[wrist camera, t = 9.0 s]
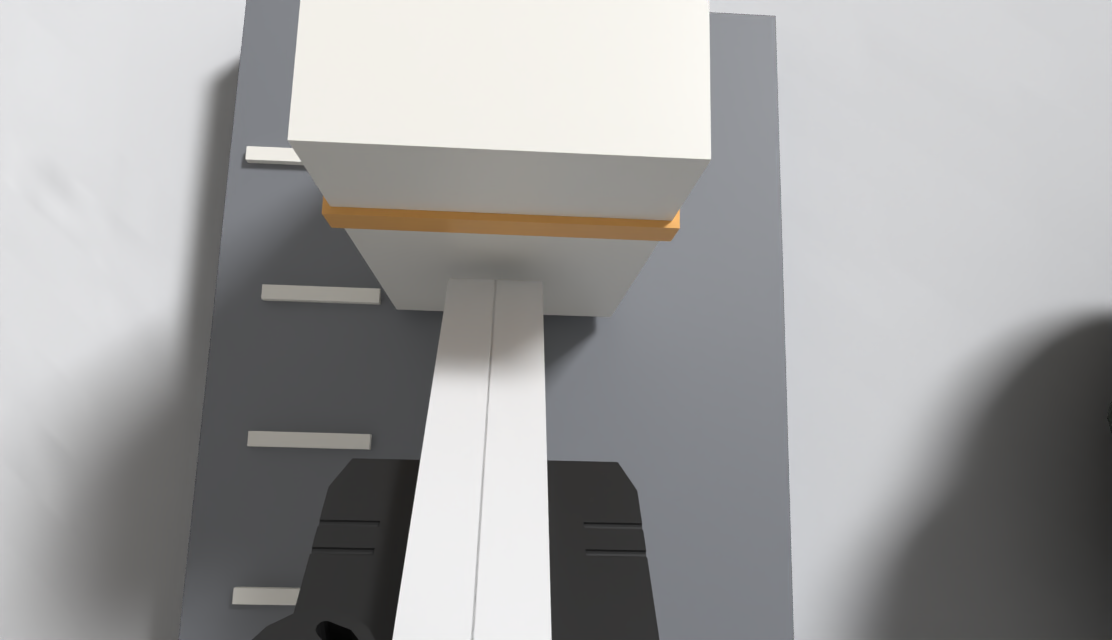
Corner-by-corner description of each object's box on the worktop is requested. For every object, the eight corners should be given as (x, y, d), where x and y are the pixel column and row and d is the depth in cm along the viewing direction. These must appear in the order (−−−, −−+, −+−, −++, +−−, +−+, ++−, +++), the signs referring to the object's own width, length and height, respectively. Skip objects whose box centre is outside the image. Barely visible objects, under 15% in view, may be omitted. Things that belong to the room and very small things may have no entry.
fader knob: (615, 321, 17) (721, 168, 9) (391, 314, 17) (276, 149, 8) (617, 114, 18) (715, -208, 10) (404, 104, 18) (313, -235, 9)
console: (772, 1051, 17) (829, 1171, 14) (171, 1058, 16) (98, 1185, 13) (750, 59, 21) (790, -9, 18) (272, 33, 20) (233, -42, 18)
